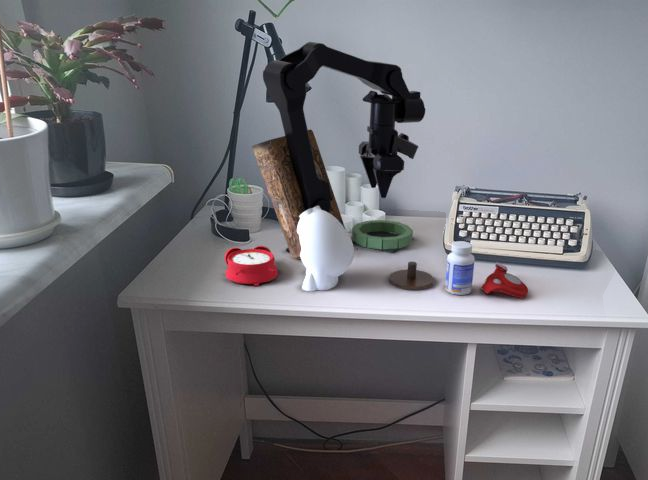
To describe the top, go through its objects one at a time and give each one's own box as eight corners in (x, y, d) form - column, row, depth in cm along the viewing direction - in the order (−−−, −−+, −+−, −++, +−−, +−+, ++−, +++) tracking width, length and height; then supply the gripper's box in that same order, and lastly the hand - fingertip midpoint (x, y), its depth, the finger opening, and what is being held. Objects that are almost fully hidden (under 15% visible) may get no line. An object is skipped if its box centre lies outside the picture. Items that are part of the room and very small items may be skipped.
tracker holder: (540, 290, 127) (505, 288, 121) (529, 308, 129) (495, 307, 123) (505, 257, 134) (470, 254, 128) (495, 275, 136) (461, 272, 130)
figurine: (353, 270, 134) (354, 200, 127) (353, 292, 124) (354, 218, 117) (300, 268, 133) (298, 198, 126) (296, 290, 123) (293, 216, 116)
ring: (340, 241, 148) (340, 231, 146) (371, 225, 159) (371, 216, 158) (394, 254, 142) (394, 243, 141) (422, 236, 153) (423, 227, 152)
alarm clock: (228, 272, 120) (218, 231, 130) (229, 298, 124) (220, 256, 135) (282, 268, 123) (269, 228, 134) (282, 293, 128) (269, 252, 138)
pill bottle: (476, 291, 128) (482, 245, 123) (459, 298, 124) (464, 251, 120) (456, 282, 131) (460, 237, 126) (439, 289, 128) (442, 243, 123)
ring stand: (381, 283, 128) (381, 265, 127) (401, 269, 136) (402, 252, 134) (422, 293, 125) (423, 275, 123) (440, 278, 132) (441, 260, 131)
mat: (351, 244, 148) (351, 241, 148) (373, 231, 157) (373, 229, 157) (393, 253, 144) (393, 250, 144) (413, 239, 153) (413, 237, 153)
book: (308, 257, 136) (267, 140, 128) (289, 261, 139) (247, 147, 131) (347, 236, 149) (312, 128, 141) (329, 240, 152) (294, 135, 144)
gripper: (429, 132, 137) (422, 203, 144) (404, 118, 153) (399, 183, 160) (379, 130, 134) (375, 203, 141) (359, 116, 149) (356, 182, 157)
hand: (378, 192), depth 150 cm, fingers open, 9 cm apart
